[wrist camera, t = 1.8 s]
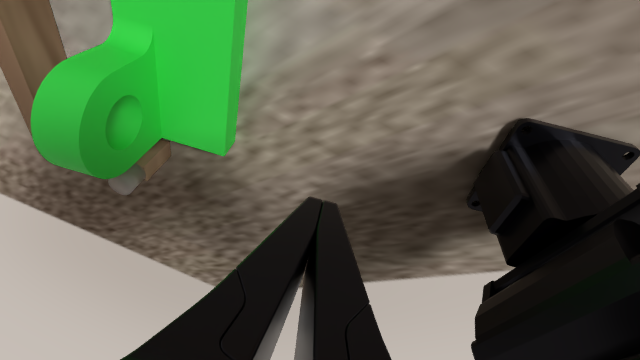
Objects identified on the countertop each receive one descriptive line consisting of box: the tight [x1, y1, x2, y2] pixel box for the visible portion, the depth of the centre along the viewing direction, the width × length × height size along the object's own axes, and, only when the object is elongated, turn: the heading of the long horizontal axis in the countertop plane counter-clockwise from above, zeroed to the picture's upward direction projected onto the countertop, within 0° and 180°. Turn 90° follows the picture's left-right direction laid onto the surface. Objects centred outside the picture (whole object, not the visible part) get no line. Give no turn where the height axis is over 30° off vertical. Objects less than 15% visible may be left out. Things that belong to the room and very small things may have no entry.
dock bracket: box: [0, 0, 171, 195], centre depth 16 cm, size 7×18×4 cm, turn 169°
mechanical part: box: [31, 0, 248, 179], centre depth 15 cm, size 12×6×8 cm, turn 166°
